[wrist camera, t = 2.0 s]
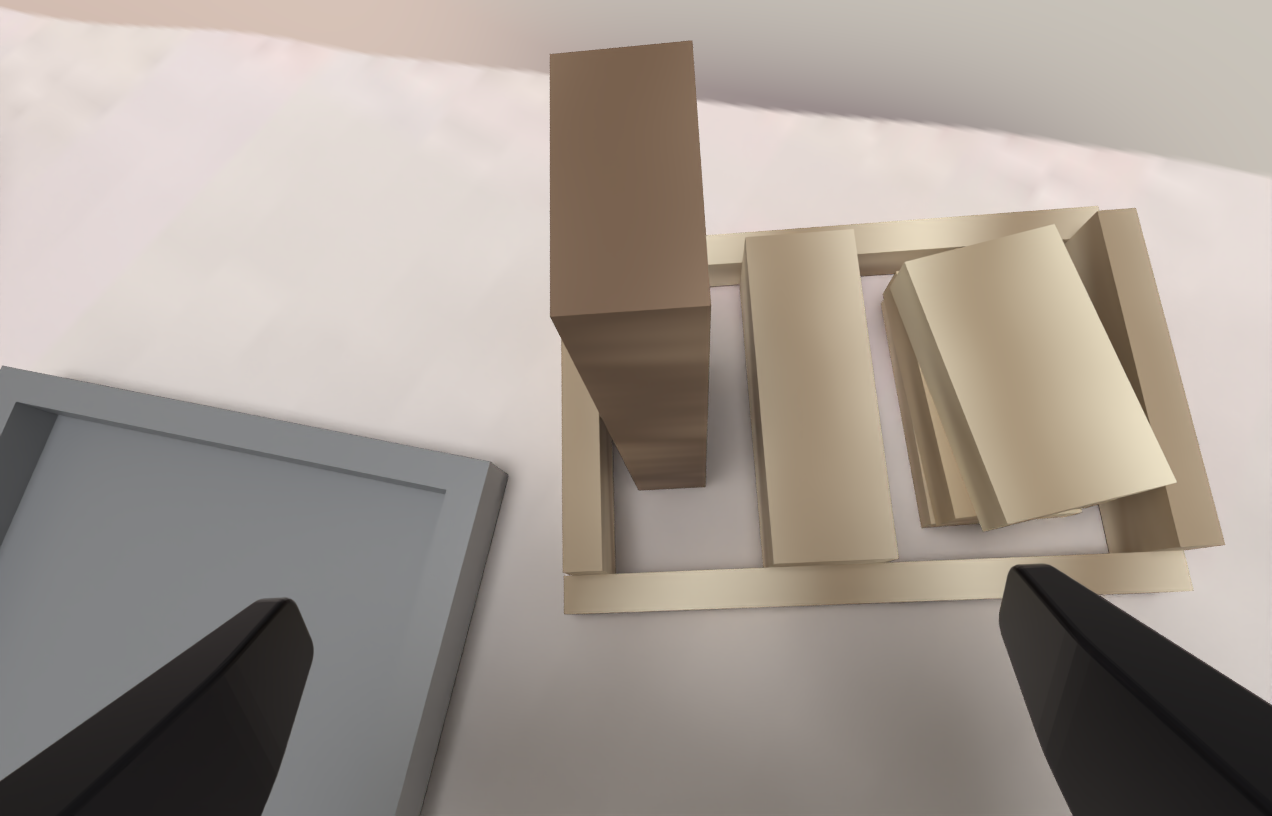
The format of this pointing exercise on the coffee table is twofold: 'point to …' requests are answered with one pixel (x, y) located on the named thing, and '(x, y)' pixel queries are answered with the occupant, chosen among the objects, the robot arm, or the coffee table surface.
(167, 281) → the coffee table surface
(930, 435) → the offcut
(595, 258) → the walnut block
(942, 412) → the offcut
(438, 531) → the tray
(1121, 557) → the offcut rack
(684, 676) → the coffee table surface
